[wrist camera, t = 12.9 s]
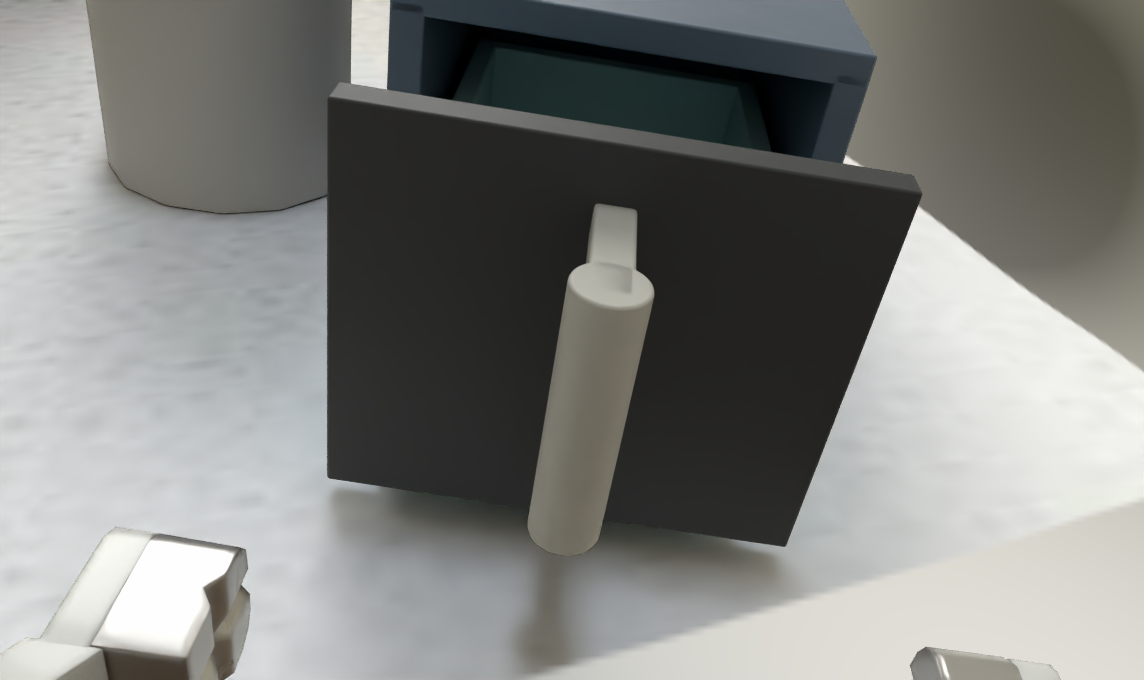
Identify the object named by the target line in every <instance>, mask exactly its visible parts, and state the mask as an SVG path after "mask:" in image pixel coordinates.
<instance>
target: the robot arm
mask: <svg viewBox="0 0 1144 680" xmlns="http://www.w3.org/2000/svg"><path fill="white" fill-rule="evenodd" d="M247 570H248V563H247V554H246V549H243V548H240V547H234V546H228V545H223V544H217V543H211V542H205V541H200V540H194V539H188V538H182V537H176V536H171V535H165V534H159V533H151V532H145V531H139V530H133V529H126V528H120V527H115V528H113V529H112V530H111V531H110V532H109V533H107V534H106V535H105V536H104V537H103V538H102V540H101V541H100V543H99V544H98V546H97V548H96V549H95V551H94V552H93V554H92V556H91V557H90V559H89V560H88V562H87V564H86V565H85V567H84V568H83V570H82V571H81V573H80V575H79V576H78V578H77V579H76V581H75V583H74V584H73V586H72V587H71V589H70V591H69V592H68V594H67V595H66V597H65V599H64V600H63V602H62V603H61V605H60V607H59V608H58V610H57V611H56V613H55V614H54V616H53V618H52V619H51V621H50V622H49V624H48V626H47V627H46V629H45V630H44V632H43V634H42V635H41V637H40V638H39V639H33V638H25V639H23V640H21V641H20V642H18V643H16V644H15V645H13V646H11V647H10V648H8V649H6V650H5V651H3V652H1V653H0V680H224V679H226V678H227V677H229V676H230V675H231V674H233V673H234V671H235V669H236V666H237V664H238V661H239V658H240V656H241V653H242V651H243V647H244V643H245V639H246V635H247V631H248V627H249V618H250V594H249V593H248V592H247V590H246V589H245V588H244V587H243V586H242V585H241V584H242V582H243V579H244V577H245V575H246V572H247ZM910 667H911V671H912V675H913V679H914V680H1061V679H1060V676H1059V674H1058V673H1057V671H1056V670H1055V669H1054V668H1053V667H1051V665H1048V664H1042V663H1035V662H1028V661H1021V660H1014V659H1005V658H1003V657H998V656H991V655H983V654H976V653H968V652H961V651H953V650H946V649H938V648H930V647H925V648H924V649H922V650H920V651H919V652H917V654H916V656H915V657H914V659H913V661H912V663H911V665H910Z"/></svg>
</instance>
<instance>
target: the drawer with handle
mask: <svg viewBox="0 0 1144 680" xmlns="http://www.w3.org/2000/svg"><path fill="white" fill-rule="evenodd" d="M921 197H922V191H921V190H920V188H919V186H918V184H917V182H916V180H915V178H914V176H912V175H909V174H903V173H897V172H891V171H884V170H878V169H872V168H866V167H860V166H854V165H847V164H841V163H835V162H829V161H823V160H817V159H811V158H804V157H798V156H792V155H786V154H780V153H774V152H772V151H771V147H770V143H769V139H768V135H767V131H766V127H765V123H764V119H763V115H762V111H761V108H760V104H759V100H758V96H757V92H756V88H755V84H753V83H747V82H741V81H735V80H729V79H723V78H717V77H711V76H705V75H698V74H692V73H686V72H680V71H674V70H668V69H662V68H656V67H650V66H644V65H638V64H632V63H625V62H619V61H613V60H607V59H601V58H595V57H589V56H583V55H577V54H571V53H565V52H559V51H552V50H546V49H540V48H534V47H528V46H522V45H516V44H510V43H504V42H498V41H492V40H486V39H479V41H478V44H477V46H476V48H475V50H474V52H473V55H472V57H471V59H470V61H469V63H468V66H467V68H466V70H465V72H464V74H463V77H462V79H461V81H460V83H459V85H458V88H457V90H456V92H455V94H454V96H453V99H452V100H447V99H441V98H435V97H429V96H423V95H416V94H410V93H404V92H398V91H392V90H386V89H379V88H373V87H367V86H361V85H355V84H349V83H343V82H340V83H338V84H337V85H336V87H335V88H334V89H333V91H332V92H331V94H330V95H329V96H328V98H327V476H328V478H330V479H337V480H344V481H350V482H357V483H364V484H370V485H377V486H384V487H390V488H397V489H403V490H410V491H417V492H423V493H430V494H437V495H443V496H450V497H457V498H463V499H470V500H477V501H483V502H490V503H496V504H503V505H510V506H516V507H523V508H530V511H529V517H528V530H529V533H530V535H531V537H532V539H533V540H534V541H535V543H536V544H537V545H539V546H540V547H541V548H543V549H544V550H546V551H548V552H551V553H553V554H557V555H563V556H573V555H578V554H582V553H584V552H586V551H588V550H589V549H591V548H592V547H593V546H594V545H595V544H596V542H597V541H598V539H599V536H600V531H601V527H602V523H603V520H609V521H616V522H623V523H629V524H636V525H643V526H649V527H656V528H663V529H669V530H676V531H683V532H689V533H696V534H702V535H709V536H716V537H722V538H729V539H736V540H742V541H749V542H756V543H762V544H769V545H776V546H782V547H785V546H786V544H787V542H788V539H789V537H790V534H791V532H792V529H793V526H794V524H795V521H796V519H797V516H798V513H799V511H800V508H801V506H802V503H803V501H804V498H805V495H806V493H807V490H808V488H809V485H810V483H811V480H812V477H813V475H814V472H815V470H816V467H817V465H818V462H819V459H820V457H821V454H822V452H823V449H824V447H825V444H826V441H827V439H828V436H829V434H830V431H831V429H832V426H833V423H834V421H835V418H836V416H837V413H838V411H839V408H840V405H841V403H842V400H843V398H844V395H845V392H846V390H847V387H848V385H849V382H850V380H851V377H852V374H853V372H854V369H855V367H856V364H857V362H858V359H859V356H860V354H861V351H862V349H863V346H864V344H865V341H866V338H867V336H868V333H869V331H870V328H871V326H872V323H873V320H874V318H875V315H876V313H877V310H878V308H879V305H880V302H881V300H882V297H883V295H884V292H885V290H886V287H887V284H888V282H889V279H890V277H891V274H892V271H893V269H894V266H895V264H896V261H897V259H898V256H899V253H900V251H901V248H902V246H903V243H904V241H905V238H906V235H907V233H908V230H909V228H910V225H911V223H912V220H913V217H914V215H915V212H916V210H917V207H918V205H919V202H920V199H921Z"/></svg>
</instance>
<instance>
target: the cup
mask: <svg viewBox="0 0 1144 680" xmlns="http://www.w3.org/2000/svg"><path fill="white" fill-rule="evenodd" d="M86 5H87V12H88V19H89V26H90V33H91V40H92V48H93V55H94V62H95V69H96V76H97V83H98V90H99V98H100V105H101V112H102V119H103V126H104V133H105V140H106V148H107V155H108V162H109V165H110V166H111V168H112V169H113V170H114V172H115V173H116V175H117V176H118V178H119V179H120V180H121V182H122V183H123V185H124V186H125V187H126V188H128V189H131V190H133V191H135V192H137V193H140V194H142V195H144V196H146V197H149V198H151V199H153V200H155V201H158V202H160V203H162V204H164V205H168V206H175V207H182V208H188V209H195V210H202V211H209V212H216V213H238V212H254V211H269V210H281V209H285V208H288V207H291V206H294V205H297V204H300V203H304V202H307V201H310V200H313V199H316V198H319V197H323V196H326V195H327V98H328V96H329V95H330V94H331V92H332V91H333V89H334V88H335V87H336V85H337V84H338V83H340V82H343V83H349V84H351V12H352V0H86Z"/></svg>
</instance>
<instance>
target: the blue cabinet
mask: <svg viewBox="0 0 1144 680" xmlns="http://www.w3.org/2000/svg"><path fill="white" fill-rule="evenodd" d="M479 39H486V40H492V41H498V42H504V43H510V44H516V45H522V46H528V47H534V48H540V49H546V50H552V51H559V52H565V53H571V54H577V55H583V56H589V57H595V58H601V59H607V60H613V61H619V62H625V63H632V64H638V65H644V66H650V67H656V68H662V69H668V70H674V71H680V72H686V73H692V74H698V75H705V76H711V77H717V78H723V79H729V80H735V81H741V82H747V83H753V84H755V88H756V92H757V96H758V100H759V104H760V108H761V111H762V115H763V119H764V123H765V127H766V131H767V135H768V139H769V143H770V147H771V151H772V152H774V153H780V154H786V155H792V156H798V157H804V158H811V159H817V160H823V161H829V162H835V163H841V164H843V161H844V158H845V155H846V152H847V149H848V146H849V143H850V139H851V137H852V134H853V131H854V127H855V124H856V122H857V118H858V115H859V112H860V109H861V106H862V103H863V100H864V97H865V94H866V91H867V88H868V85H869V82H870V78H871V75H872V72H873V69H874V66H875V63H876V60H877V56H876V54H875V52H874V51H873V49H872V47H871V46H870V44H869V42H868V40H867V39H866V37H865V35H864V34H863V32H862V30H861V29H860V27H859V25H858V24H857V22H856V20H855V18H854V17H853V15H852V13H851V12H850V10H849V8H848V7H847V5H846V3H845V1H844V0H390V23H389V51H388V78H387V90H392V91H398V92H404V93H410V94H416V95H423V96H429V97H435V98H441V99H447V100H452V99H453V96H454V94H455V92H456V90H457V88H458V85H459V83H460V81H461V79H462V77H463V74H464V72H465V70H466V68H467V66H468V63H469V61H470V59H471V57H472V55H473V52H474V50H475V48H476V46H477V44H478V41H479Z"/></svg>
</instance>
